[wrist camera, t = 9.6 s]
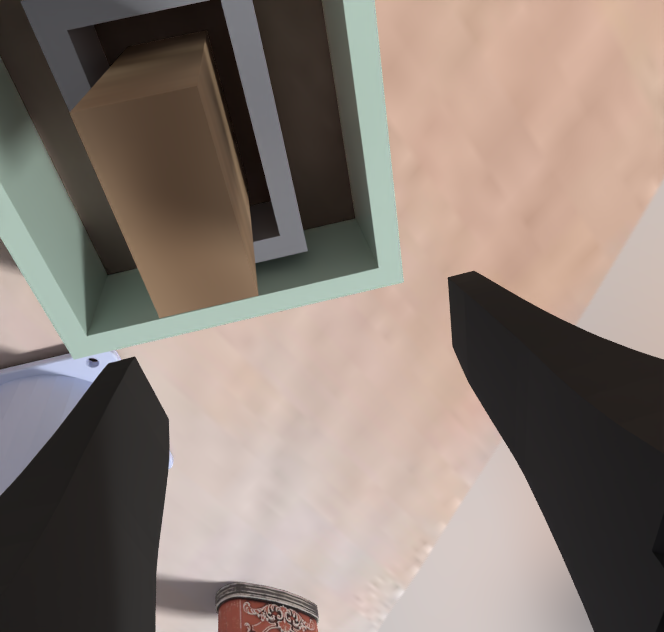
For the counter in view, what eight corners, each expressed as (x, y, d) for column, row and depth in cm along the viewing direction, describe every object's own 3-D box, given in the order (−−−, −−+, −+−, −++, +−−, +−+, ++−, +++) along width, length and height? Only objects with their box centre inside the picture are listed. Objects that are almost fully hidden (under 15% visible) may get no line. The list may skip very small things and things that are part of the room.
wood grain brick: (180, 194, 20) (159, 318, 13) (128, 46, 17) (69, 113, 10) (247, 179, 20) (258, 295, 13) (206, 30, 17) (196, 86, 10)
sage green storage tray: (96, 296, 22) (73, 359, 18) (-84, -49, 15) (-170, -46, 11) (377, 231, 22) (403, 282, 19) (329, -133, 15) (358, -153, 12)
